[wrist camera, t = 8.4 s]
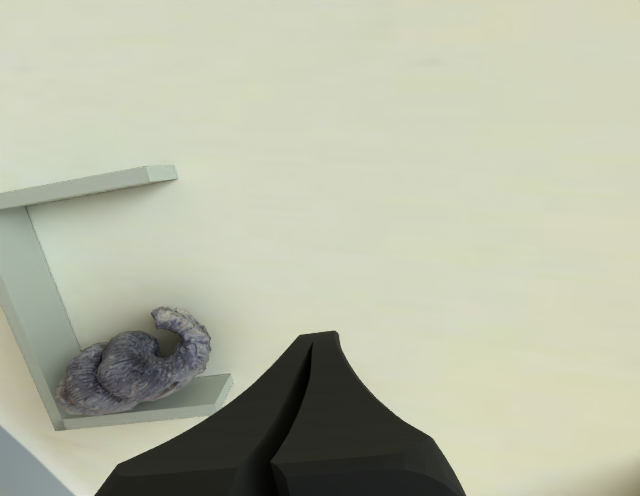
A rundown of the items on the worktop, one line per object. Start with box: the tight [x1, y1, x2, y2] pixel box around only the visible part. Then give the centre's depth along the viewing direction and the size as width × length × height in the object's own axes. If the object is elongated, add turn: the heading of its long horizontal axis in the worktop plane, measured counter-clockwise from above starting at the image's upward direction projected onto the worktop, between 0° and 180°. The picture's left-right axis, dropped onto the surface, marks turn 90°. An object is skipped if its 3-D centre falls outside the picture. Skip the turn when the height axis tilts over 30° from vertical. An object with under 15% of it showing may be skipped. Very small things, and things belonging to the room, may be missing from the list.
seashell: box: [54, 307, 211, 416], centre depth 21 cm, size 5×5×10 cm
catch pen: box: [0, 165, 233, 431], centre depth 21 cm, size 15×11×3 cm
